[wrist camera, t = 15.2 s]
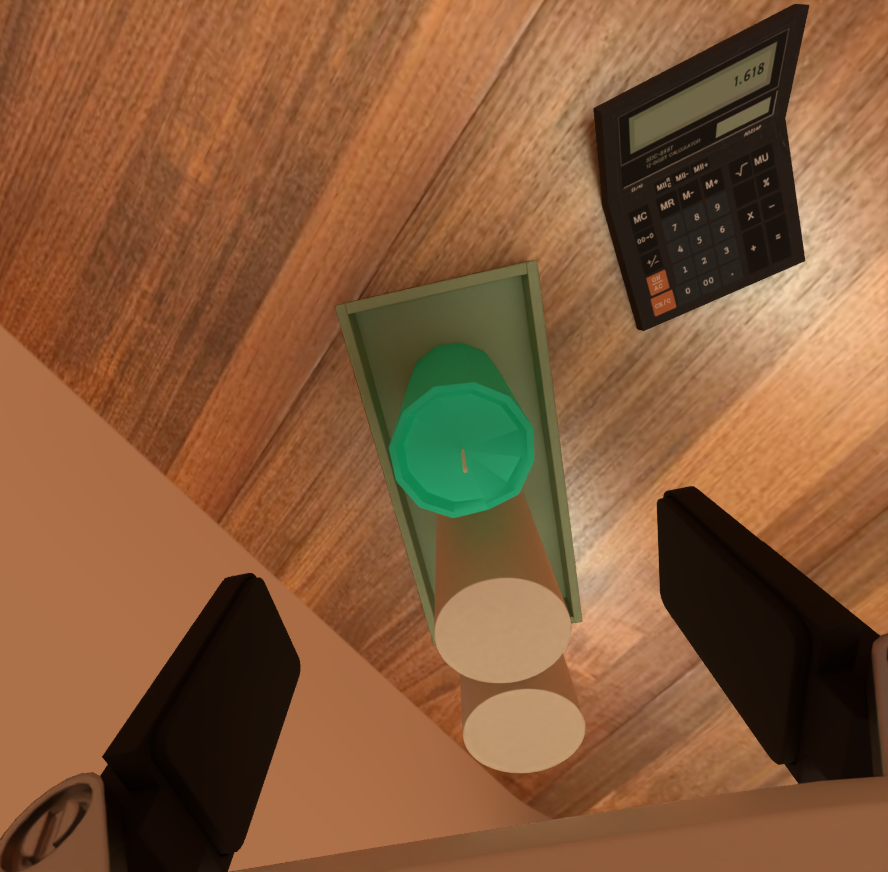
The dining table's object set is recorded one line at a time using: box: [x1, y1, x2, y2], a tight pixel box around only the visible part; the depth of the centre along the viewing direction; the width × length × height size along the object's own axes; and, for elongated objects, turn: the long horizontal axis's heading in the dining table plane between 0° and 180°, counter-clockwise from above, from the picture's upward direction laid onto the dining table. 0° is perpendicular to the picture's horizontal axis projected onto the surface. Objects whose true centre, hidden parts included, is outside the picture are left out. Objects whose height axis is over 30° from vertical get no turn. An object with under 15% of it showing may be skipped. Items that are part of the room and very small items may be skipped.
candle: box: [389, 342, 534, 518], centre depth 21 cm, size 6×6×12 cm
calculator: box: [594, 4, 809, 331], centre depth 22 cm, size 9×12×3 cm
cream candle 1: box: [434, 489, 571, 683], centre depth 24 cm, size 6×6×12 cm
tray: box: [335, 260, 582, 646], centre depth 28 cm, size 11×25×2 cm, turn 12°
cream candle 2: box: [460, 654, 585, 773], centre depth 26 cm, size 6×6×12 cm
